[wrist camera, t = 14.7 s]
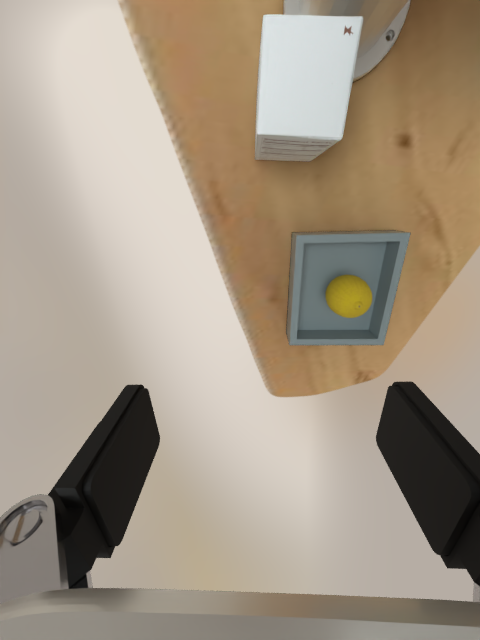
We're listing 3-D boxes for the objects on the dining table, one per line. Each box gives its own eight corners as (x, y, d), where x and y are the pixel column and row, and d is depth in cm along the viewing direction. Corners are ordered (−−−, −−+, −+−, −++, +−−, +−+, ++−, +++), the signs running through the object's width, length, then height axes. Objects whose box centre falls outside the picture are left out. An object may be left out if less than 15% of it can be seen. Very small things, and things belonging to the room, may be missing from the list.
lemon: (355, 303, 38) (379, 325, 31) (318, 305, 39) (334, 328, 31) (359, 267, 36) (386, 283, 29) (320, 270, 36) (337, 286, 29)
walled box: (291, 232, 35) (296, 235, 32) (393, 230, 35) (410, 232, 31) (286, 333, 42) (289, 345, 38) (371, 332, 41) (383, 345, 37)
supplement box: (257, 86, 29) (262, 6, 17) (321, 90, 29) (369, 11, 17) (252, 161, 32) (254, 135, 20) (310, 164, 32) (344, 140, 20)
